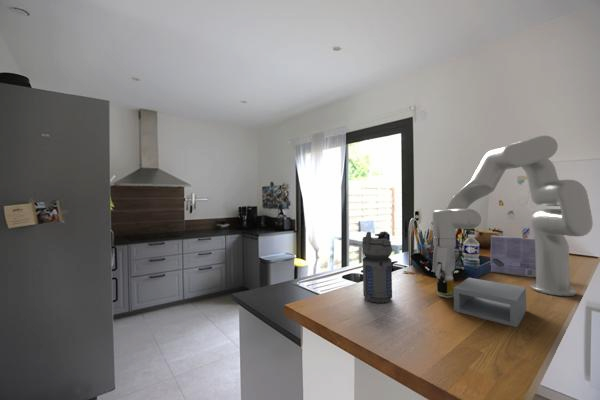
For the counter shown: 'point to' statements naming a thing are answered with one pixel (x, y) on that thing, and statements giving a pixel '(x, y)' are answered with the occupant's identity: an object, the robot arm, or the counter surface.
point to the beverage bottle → (377, 268)
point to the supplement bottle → (448, 287)
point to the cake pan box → (513, 256)
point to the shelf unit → (491, 301)
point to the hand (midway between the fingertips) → (445, 290)
